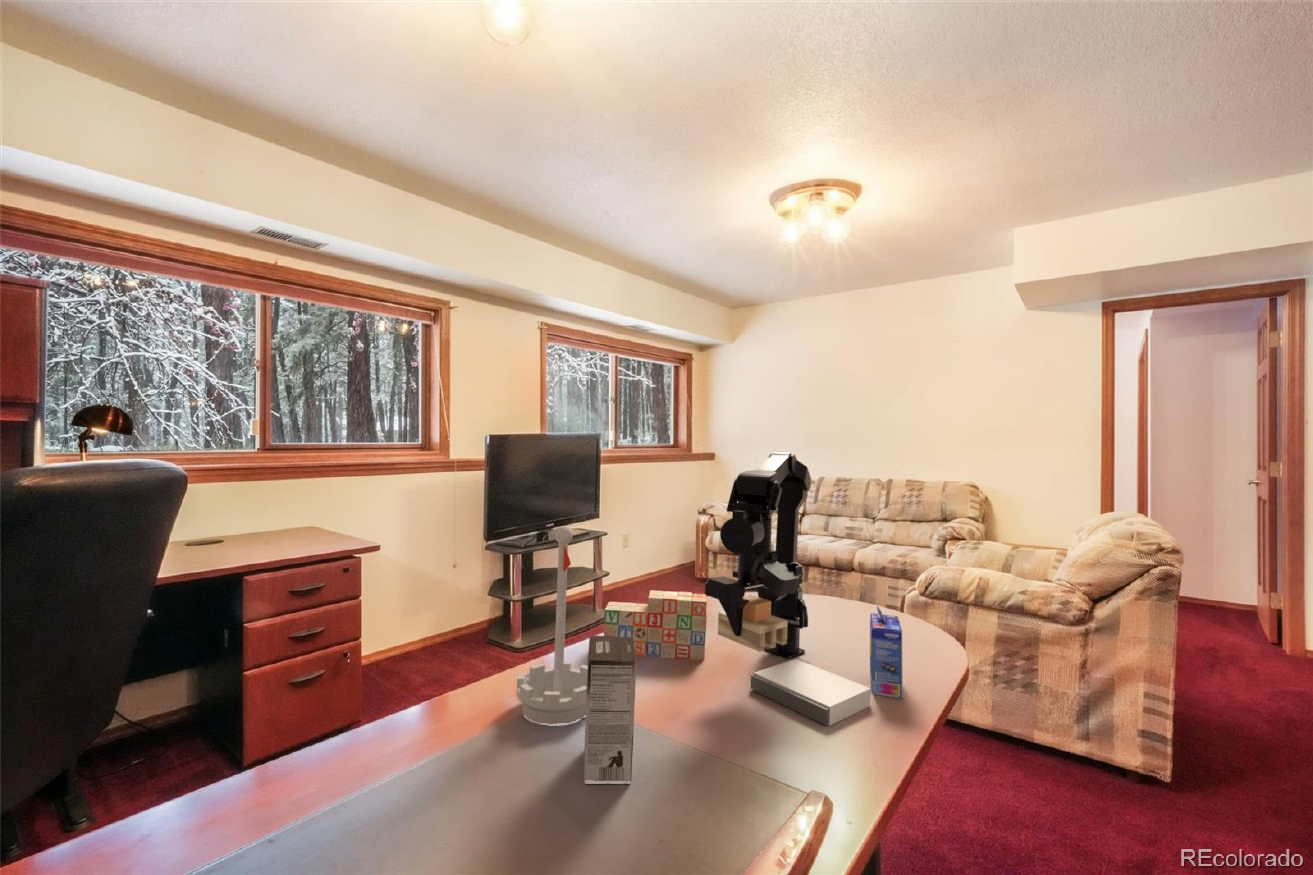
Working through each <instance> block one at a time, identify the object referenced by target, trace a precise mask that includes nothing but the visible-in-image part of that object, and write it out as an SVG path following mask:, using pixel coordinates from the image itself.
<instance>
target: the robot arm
mask: <svg viewBox="0 0 1313 875" xmlns="http://www.w3.org/2000/svg"><path fill="white" fill-rule="evenodd" d="M811 481H812V480H811V474H810V470H809V468H808V467H807V466H806V465H805V464H803V462H801V461H799V460H798V459H797V456H796V454H793V453H792V452H778V451H777V452H775V451H774V452H772V453H769V456H768V458H767V459H766V461H764V462H763V463H762V464H761V465H760V466H759V467H758V468H757V469H755V470H745V471H742V472H740V473H739V474H738V475H737V477H736V478H735V479H734V482H733V485H732V488H731V491H730V492H731V493H730V496H729V499H728V504H727V507H726V511H727V512H730V513H732V516H731V518H729V519H728V520H726V521H725V522H724V523H723V525H722V527H721V528H720V531H719V532H720V534H719V535H720V536H719V537H720V541H721V544H722V545H723V546H724V548H725V549H726V550H728V551H729V552H731V553H733V554H734V555H737V570H733V571H732V577H733V578H729V577H727V576H717V577H711V578H708V579H707V580H706V581H705V583H704V594H705V595H706V597H711V598H713V599H716V600H718V602H719V603H720V606H721V608H722V609H723V611H725V613H726V615H727V618H728V620H729V623H730V625H731V627H732V630H733V632H734V634H735V635H736V636H738V637H739V636H740V635H741V629H742V618H743V608H744V606H745V605H746V604H747V603H748V602H749V600H746V599H743V597H744V596H745V595H746V591H749V590H750V591H751V590H755V589H756V591H757V597H760V598H763V599H766V600H769V601H771V615H773V616H775V617H778V618H781V619H784V620H787V621H788V624H787V644H784V645H781V644H778V643H776V647H774V648H769V647H766V646H765V647H764V651H766V652H770V653H772V654H774V655H776V656H779V657H782V658H783V659H790V658H793V657H796V656H800V655H802V654H805V653H806V650H805V649H803V648H800V636H801V635H800V634H801V633H800V631H801V630H800V629H803V630H804V628H808V627H809V614H808V608H807V606H806V601H805V599H803V597H804V596H803V593H804V592H803V589H802V587H801V584H803V582H804V581H803V578H804V572H803V570H804V568H803V565H802V564H800V563H799V562H797V558H798V557H797V554H798V538H799V537H798V536H799V534H798V533H799V515H800V514H799V513H800V509H801V507H802V506H803V505H804V503H805V502H806V500H807V499H808V492H809V491H810V490H811V485H812V483H811ZM775 511H777V516H776V517H777V520H776V536H775V537H776V538H775V550H772V524H773V523H772V522H773V518H772V515H774V512H775ZM734 578H736V579H734Z"/></svg>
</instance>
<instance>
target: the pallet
mask: <svg viewBox="0 0 1313 875" xmlns="http://www.w3.org/2000/svg"><path fill="white" fill-rule="evenodd" d="M717 613H718V616H717V617H718V619H717V620H718V621H717V635H719V636H721V637H723V638H725V639H728V640H730V641H733V642H735V643H738V644H740V645H742V646H744V647H747V648H749V649H752V650H753V651H756V652H758V653H761V652H764V651H765V650H764V647H765V646H766V647H769V648H774V647H776V643H778V644H781V645H784V644H787V624H788V621H787V620H784V619H781V618H778V617H775V616H773V615H771V618H770V619H766V620H762V621H758V622H753V621H751V620H748V619H745V618H742V629H741V635H740V636H739V637H738V636H736V635H735V634H734V632H733V630H732V627H731V625H730V623H729V620H728V618H727V615H726V613H725V611H724V610H722V611H718V612H717Z"/></svg>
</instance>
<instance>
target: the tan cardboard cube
mask: <svg viewBox="0 0 1313 875" xmlns="http://www.w3.org/2000/svg"><path fill="white" fill-rule="evenodd" d="M743 599H746V600H749V602H748V603H747V604H746V605H745V606H744V608H743V618H745V619H748V620H751V621H753V622H758V621H762V620H766V619H770V618H771V601H769V600H766V599H763V598H760V597H758V595H757V596H756V595H753V594H747V595H746V594H745V595H744V597H743Z"/></svg>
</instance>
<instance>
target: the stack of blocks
mask: <svg viewBox="0 0 1313 875" xmlns="http://www.w3.org/2000/svg"><path fill="white" fill-rule="evenodd" d="M648 595H649V596H648V599H647V603H635V602H620V601H619V602H618V601H609V602H608V603H607V604H606V607H605V609H604V616H603V617H604V619H603V623H604V624H603V625H604V626H603V636H617V637H633V641H634V648H635V655H636V657H637V656H640V657H653V658H654V657H655V658H667V659H668V658H671V659H681V660H683V659H684V660H698V661H705V652H706V632H707V617H708V616H707V595H705V593H692V592H690V591H689V592H688V591H668V590H667V591H666V590H665V591H664V590H652V589H651V590H650V591H649V594H648Z"/></svg>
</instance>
